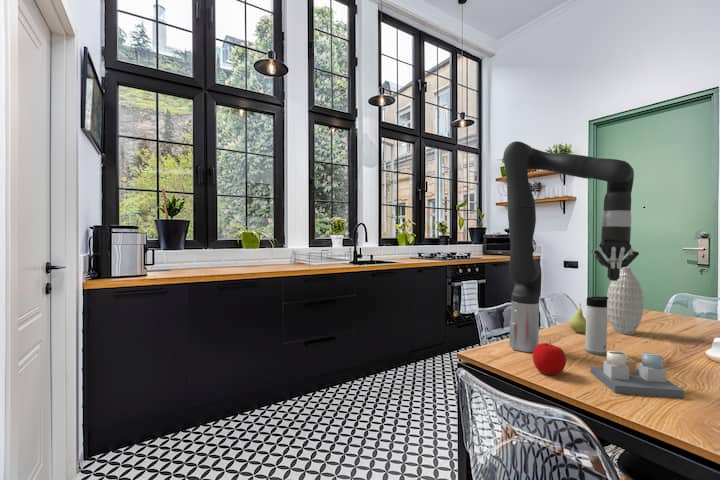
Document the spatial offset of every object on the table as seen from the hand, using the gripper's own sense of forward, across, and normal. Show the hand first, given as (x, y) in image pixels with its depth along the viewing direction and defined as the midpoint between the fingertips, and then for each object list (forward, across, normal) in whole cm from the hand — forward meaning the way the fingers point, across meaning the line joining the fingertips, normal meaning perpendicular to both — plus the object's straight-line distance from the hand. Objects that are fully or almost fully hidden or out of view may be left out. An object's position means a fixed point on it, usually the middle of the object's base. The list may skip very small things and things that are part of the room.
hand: (613, 280), depth 114 cm
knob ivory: (+25, -5, -14) cm, 29 cm away
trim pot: (+25, 0, -10) cm, 27 cm away
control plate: (+27, 0, -14) cm, 31 cm away
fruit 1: (+28, -20, -10) cm, 36 cm away
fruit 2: (+28, +7, +42) cm, 51 cm away
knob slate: (+25, +4, -14) cm, 29 cm away
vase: (+28, +26, +45) cm, 59 cm away
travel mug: (+28, +2, +14) cm, 31 cm away
